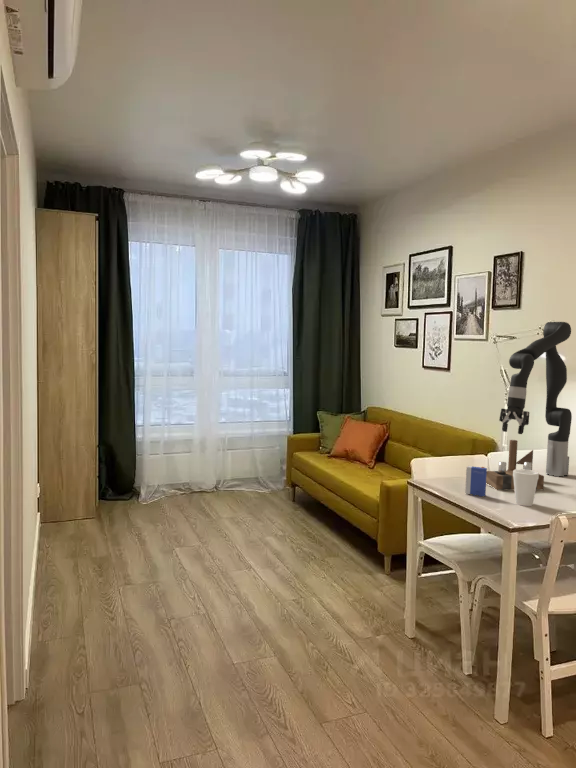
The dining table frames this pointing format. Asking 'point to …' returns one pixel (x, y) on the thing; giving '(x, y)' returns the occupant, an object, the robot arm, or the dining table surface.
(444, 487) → the dining table surface
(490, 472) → the band block
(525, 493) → the foam cup
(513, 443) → the wooden post with wedge
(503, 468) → the peg outer
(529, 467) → the peg inner
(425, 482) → the dining table surface
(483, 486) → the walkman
